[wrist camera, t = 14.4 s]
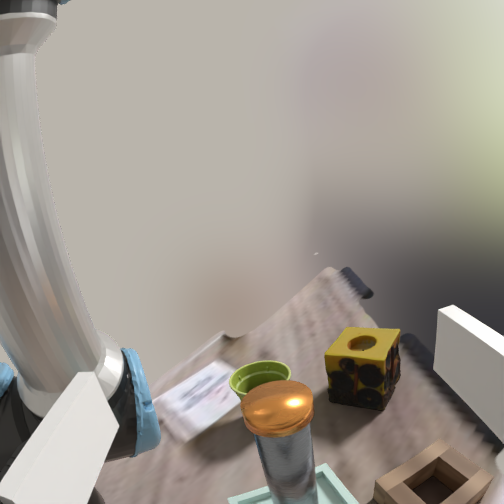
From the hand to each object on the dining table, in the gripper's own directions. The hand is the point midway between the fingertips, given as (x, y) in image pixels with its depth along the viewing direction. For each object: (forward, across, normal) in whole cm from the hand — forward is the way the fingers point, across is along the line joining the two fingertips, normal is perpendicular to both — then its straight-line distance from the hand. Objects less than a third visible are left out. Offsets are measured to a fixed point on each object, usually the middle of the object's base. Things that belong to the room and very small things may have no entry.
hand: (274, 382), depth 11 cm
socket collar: (+7, +15, -29) cm, 33 cm away
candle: (+33, +16, -30) cm, 47 cm away
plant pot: (+32, -2, -30) cm, 43 cm away
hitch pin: (+9, 0, -28) cm, 30 cm away
